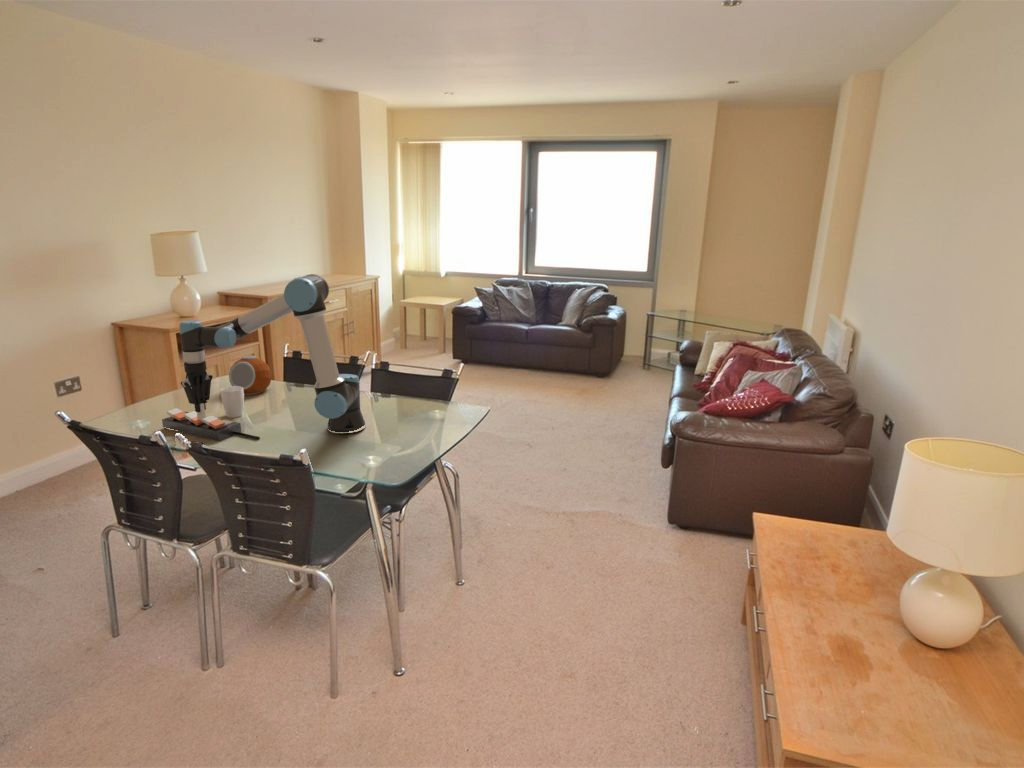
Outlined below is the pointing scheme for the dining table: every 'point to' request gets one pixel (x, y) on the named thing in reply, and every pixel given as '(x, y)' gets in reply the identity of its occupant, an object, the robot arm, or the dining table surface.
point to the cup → (233, 400)
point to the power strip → (206, 429)
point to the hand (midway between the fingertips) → (201, 419)
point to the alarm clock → (250, 375)
